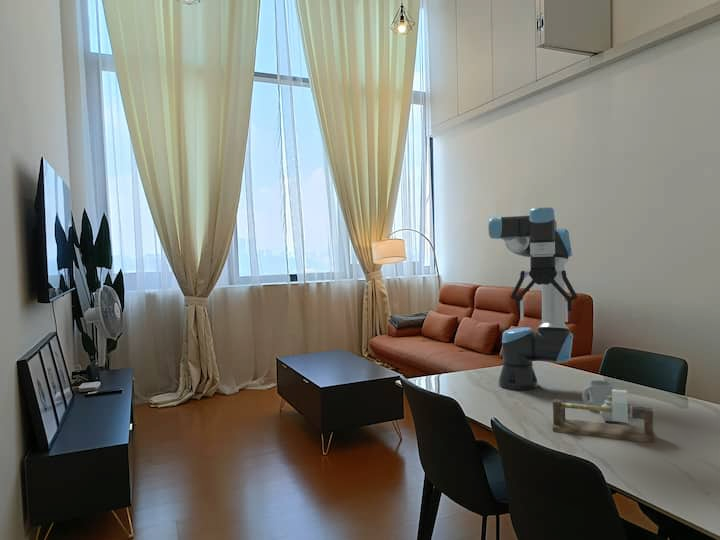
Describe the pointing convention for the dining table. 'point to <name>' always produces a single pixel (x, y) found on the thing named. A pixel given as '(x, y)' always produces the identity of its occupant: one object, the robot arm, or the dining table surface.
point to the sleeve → (619, 405)
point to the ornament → (607, 415)
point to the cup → (597, 392)
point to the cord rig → (604, 428)
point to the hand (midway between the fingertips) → (543, 320)
